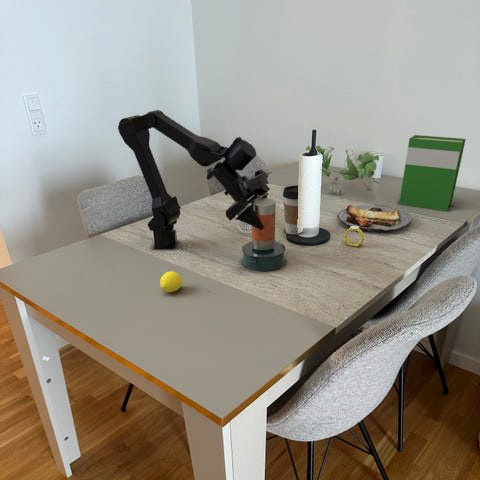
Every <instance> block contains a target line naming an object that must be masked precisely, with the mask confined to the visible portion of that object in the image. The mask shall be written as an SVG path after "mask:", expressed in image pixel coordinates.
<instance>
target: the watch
mask: <svg viewBox="0 0 480 480" xmlns="http://www.w3.org/2000/svg"><path fill="white" fill-rule="evenodd" d="M349 231H352V232H353V231H354V232H356V231H357V232H358V233H359V235H360V238H361V239H360V242H359V243H353V242H351V241H349V239H348V232H349ZM343 239H344V242H345V243H346V244H347V246H352V247H353V246H354V247H359V246H360V245H361V244H363V242H364V240H365V235H364V232H363V230H362V229H361V228H359V227H358V226H350V227H349V228H348V229H346V231H344V234H343Z"/></svg>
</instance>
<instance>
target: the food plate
mask: <svg viewBox="0 0 480 480" xmlns="http://www.w3.org/2000/svg"><path fill="white" fill-rule="evenodd" d="M336 217H337V219H338V220H339V222H341V223H342V224H344V225H346V226H347V225H349V226H350V227H351V226H358V227H359V229H360V230H365V231H367V232H370V231H380V230H382V231H391V230H398V229H401V228H402V227H405V226H407V225H409V224H410V223H411V222H412V218H413V215H412V214H411V213H409V212H408V211H407V210H404V209H402V208H397V207H393V206H390V205H383V204H379V205H378V204H369V205H368V204H363V205H354V204H353V205H352V204H348V205H347V207H346V208H343V209H342V210H340V211H339V212H338V213H337V215H336Z"/></svg>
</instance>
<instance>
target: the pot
mask: <svg viewBox="0 0 480 480" xmlns="http://www.w3.org/2000/svg"><path fill="white" fill-rule="evenodd" d="M241 252H242V256H243V257H242V259H243V262H242V264H243V266H244V267H245V268H247V269H249V270H252V271H256V272H271V271H275V270H278V269H280V268H282V267H283V266H284V264H285V252H286V246H285V245H284V243H282V242H279V241H276V240H275V246H274V248H272V249H270V250H257V249H254V248H253V247H252V241H249V242H247V243H245V244H243V245H242V247H241Z"/></svg>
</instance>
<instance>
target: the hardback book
mask: <svg viewBox="0 0 480 480" xmlns="http://www.w3.org/2000/svg"><path fill="white" fill-rule="evenodd" d="M466 139H467V138H459V137H458V138H457V137H447V136H436V135H435V136H434V135H423V134H421V135H420V134H414V135H413V136H411V137H409V138H408V146H407V150H406V158H405V165H404V170H403V177H402V183H401V188H400V189H401V190H400V196H399V201H398V202H399V205H404V206H410V207H411V206H412V207H417V208H425V209H430V210H438V211H445V212H448V209H449V207H451V206H452V203H453V199H454V194H455V190H456V186H457V181H458V177H459V173H460V167H461V163H462V157H463V154H464V150H465V144H466Z"/></svg>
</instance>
